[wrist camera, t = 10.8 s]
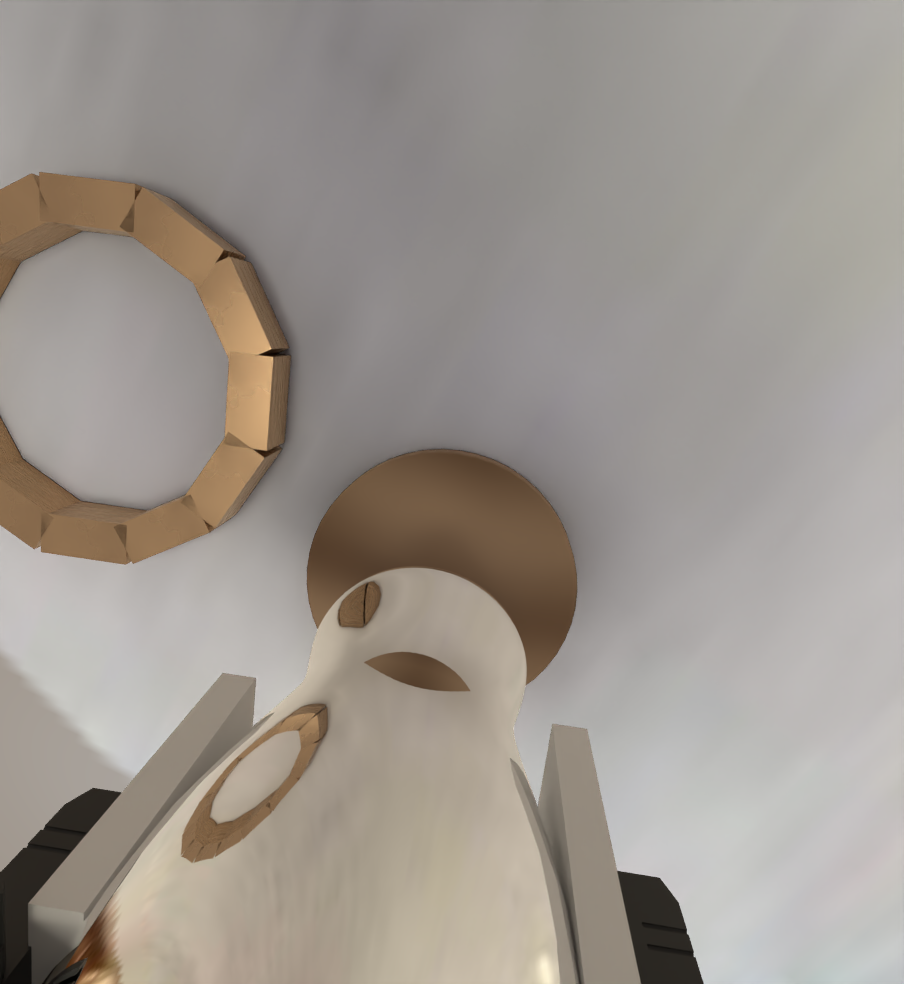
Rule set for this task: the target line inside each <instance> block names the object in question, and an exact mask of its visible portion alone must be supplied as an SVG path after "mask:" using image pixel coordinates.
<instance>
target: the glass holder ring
mask: <svg viewBox="0 0 904 984" xmlns="http://www.w3.org/2000/svg"><path fill="white" fill-rule="evenodd" d="M81 231H89V232H97V233H105V234H113V235H120V236H128V237H134V238H135V239H136V240H138V241H139V242H140V243H142V244H143V245H144V246H146V247H147V248H148V249H150V250H151V251H152V252H153V253H155V254H156V255H157V256H159V257H160V258H161V259H163V260H164V261H165V262H167V263H168V264H169V265H171V266H172V267H173V268H174V269H176V270H177V271H178V272H180V273H181V274H182V275H184V276H185V277H186V278H188V279H189V280H190V281H192V282H193V283H194V285H195V287H196V290H197V292H198V294H199V296H200V298H201V300H202V302H203V305H204V307H205V309H206V311H207V313H208V315H209V317H210V320H211V322H212V324H213V326H214V328H215V330H216V332H217V334H218V337H219V339H220V341H221V343H222V345H223V347H224V349H225V352H226V354H227V356H228V358H229V369H228V387H227V405H226V424H225V438H224V439H223V441H222V442H221V444H220V445H219V447H218V448H217V450H216V451H215V453H214V454H213V455H212V457H211V458H210V460H209V461H208V463H207V464H206V466H205V467H204V469H203V470H202V472H201V473H200V475H199V476H198V478H197V479H196V480H195V482H194V483H193V485H192V486H191V488H190V489H189V491H188V492H187V494H186V495H184V496H181V497H179V498H176V499H174V500H172V501H169V502H167V503H165V504H162V505H160V506H157V507H155V508H153V509H150V510H148V511H146V510H139V509H132V508H125V507H118V506H112V505H105V504H98V503H91V502H84V501H80V500H78V499H77V498H76V497H74V496H73V495H72V494H70V493H69V492H67V491H66V490H65V489H63V488H62V487H60V486H59V485H58V484H56V483H55V482H54V481H52V480H51V479H49V478H48V477H47V476H45V475H44V474H43V473H41V472H40V471H38V470H37V469H36V468H34V467H33V466H31V465H30V464H29V463H27V462H26V461H25V460H23V459H22V457H21V455H20V453H19V451H18V449H17V448H16V446H15V444H14V442H13V440H12V438H11V436H10V435H9V433H8V431H7V429H6V427H5V425H4V423H3V421H2V420H1V418H0V525H1V526H2V527H4V528H5V529H7V530H8V531H9V532H11V533H12V534H14V535H15V536H16V537H18V538H19V539H21V540H22V541H23V542H25V543H26V544H28V545H29V546H30V547H32V548H33V549H35V548H38V547H40V546H41V552H45V553H51V554H58V555H65V556H72V557H78V558H85V559H92V560H99V561H105V562H112V563H119V564H128V563H129V562H131V561H132V563H133V564H134V563H136V562H139V561H141V560H143V559H146V558H148V557H151V556H153V555H156V554H158V553H161V552H163V551H165V550H168V549H170V548H173V547H175V546H178V545H180V544H183V543H185V542H187V541H190V540H192V539H195V538H197V537H200V536H202V535H205V534H207V533H209V532H211V531H213V530H214V529H216V528H217V527H219V526H220V525H222V524H223V523H225V522H226V521H228V520H229V519H231V517H233V516H234V515H236V514H237V512H238V511H239V509H240V508H241V507H242V505H243V504H244V502H245V501H246V500H247V498H248V497H249V495H250V494H251V492H252V491H253V490H254V488H255V487H256V485H257V484H258V483H259V481H260V480H261V478H262V477H263V475H264V474H265V473H266V471H267V470H268V468H269V467H270V466H271V464H272V463H273V461H274V460H275V458H276V457H277V456H278V454H279V453H280V451H281V450H282V449H281V448H280V447H279V446H278V445H280V444H282V443H284V442H285V429H286V415H287V402H288V388H289V375H290V361H291V356H290V355H282V354H277V353H279V352H282V351H284V350H286V349H288V348H289V346H288V343H287V341H286V339H285V337H284V335H283V332H282V330H281V328H280V326H279V323H278V321H277V319H276V317H275V315H274V312H273V310H272V308H271V306H270V304H269V301H268V299H267V297H266V295H265V292H264V290H263V288H262V286H261V284H260V281H259V279H258V277H257V275H256V273H255V270H254V268H253V266H252V264H251V263H250V262H247V261H244V259H245V257H246V256H245V255H244V254H242V253H241V252H240V251H238V250H237V249H236V248H234V247H233V246H232V245H231V244H229V243H228V242H227V241H225V240H224V239H223V238H221V237H220V236H219V235H218V234H216V233H215V232H214V231H212V230H211V229H210V228H209V227H207V226H206V225H205V224H203V223H202V222H201V221H199V220H198V219H197V218H196V217H194V216H193V215H192V214H190V213H189V212H188V211H186V210H185V209H184V208H183V207H181V206H180V205H179V204H177V203H176V202H175V201H173V200H172V199H170V198H168V197H165V196H163V195H161V194H158V193H156V192H153V191H151V190H149V189H146V188H144V187H141V186H139V185H137V184H132V183H124V182H116V181H108V180H100V179H92V178H84V177H75V176H67V175H59V174H51V173H43V172H39V176H38V175H35V174H32V173H31V174H29V175H28V176H26V177H24V178H22V179H20V180H18V181H16V182H14V183H12V184H10V185H8V186H6V187H4V188H3V189H1V190H0V298H1V296H2V294H3V292H4V290H5V289H6V287H7V285H8V283H9V282H10V280H11V278H12V276H13V274H14V273H15V271H16V269H17V267H18V266H19V264H20V262H21V261H23V260H25V259H27V258H29V257H31V256H33V255H35V254H37V253H39V252H41V251H43V250H45V249H47V248H49V247H51V246H53V245H55V244H57V243H59V242H61V241H63V240H65V239H67V238H69V237H71V236H73V235H75V234H77V233H79V232H81Z"/></svg>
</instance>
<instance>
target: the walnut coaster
mask: <svg viewBox="0 0 904 984" xmlns="http://www.w3.org/2000/svg"><path fill="white" fill-rule="evenodd" d="M405 566H426V567H434V568H439V569H444V570H447V571H451V572H454V573H456V574H459V575H461V576H463V577H466V578H468V579H470V580H471V581H473V582H475V583H476V584H478V585H480V586H481V587H482V588H484V589H485V590H486V591H488V592H489V593H490V594H491V595H492V596H493V597H494V598H495V599H496V600H497V601H498V602H499V603H500V604H501V605H502V606H503V607H504V609H505V610H506V611H507V613H508V614H509V615H510V617H511V618H512V620H513V622H514V623H515V625H516V627H517V629H518V631H519V634H520V636H521V639H522V642H523V645H524V649H525V653H526V661H527V678H526V685H527V684H528V683H530V682H531V681H532V680H534V679H535V678H536V677H537V676H538V675H539V674H540V673H541V672H542V671H543V670H544V669H545V668H546V667H547V666H548V664H549V663H550V662H551V661H552V659H553V658H554V657H555V655H556V654H557V652H558V651H559V649H560V647H561V645H562V644H563V642H564V640H565V638H566V636H567V633H568V631H569V628H570V626H571V623H572V619H573V615H574V611H575V607H576V597H577V573H576V567H575V561H574V556H573V553H572V550H571V546H570V543H569V540H568V537H567V534H566V531H565V529H564V527H563V525H562V523H561V521H560V519H559V517H558V515H557V514H556V512H555V511H554V509H553V508H552V506H551V505H550V503H549V502H548V501H547V499H546V498H545V497H544V496H543V495H542V494H541V493H540V491H539V490H538V489H537V488H536V487H534V486H533V485H532V484H531V483H530V482H529V481H528V480H527V479H525V478H524V477H523V476H521V475H520V474H518V473H517V472H515V471H514V470H512V469H511V468H509V467H507V466H505V465H503V464H501V463H499V462H497V461H495V460H493V459H490V458H487V457H484V456H481V455H478V454H475V453H470V452H465V451H460V450H447V449H434V450H422V451H417V452H411V453H406V454H403V455H400V456H397V457H394V458H391V459H389V460H387V461H385V462H383V463H381V464H379V465H377V466H375V467H373V468H372V469H370V470H369V471H367V472H366V473H364V474H363V475H361V476H360V477H359V478H358V479H356V480H355V481H354V482H353V483H352V484H351V485H350V486H349V487H347V488H346V489H345V490H344V491H343V492H342V493H341V494H340V496H339V497H338V498H337V499H336V500H335V501H334V503H333V504H332V505H331V506H330V508H329V509H328V511H327V512H326V514H325V516H324V517H323V519H322V520H321V522H320V525H319V527H318V529H317V531H316V533H315V536H314V539H313V542H312V546H311V549H310V553H309V559H308V566H307V590H308V598H309V604H310V608H311V612H312V616H313V619H314V621H315V624H316V626H317V629H318V628H319V626H320V624H321V622H322V620H323V618H324V616H325V615H326V613H327V611H328V610H329V609H330V607H331V606H332V605H333V604H334V602H335V601H336V600H337V599H338V598H339V597H340V596H341V595H342V594H343V593H344V592H345V591H347V590H348V589H349V588H350V587H352V586H353V585H355V584H356V583H358V582H359V581H361V580H363V579H365V578H366V577H368V576H371V575H373V574H375V573H378V572H381V571H384V570H388V569H392V568H397V567H405Z"/></svg>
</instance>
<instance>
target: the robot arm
mask: <svg viewBox="0 0 904 984" xmlns="http://www.w3.org/2000/svg"><path fill="white" fill-rule="evenodd" d="M255 687H256V678H252V677H246V676H239V675H232V674H226V673H222V675H221V676H220V677H219V678H218V679H217V681H216V682H215V683H214V684H213V685H212V686H211V688H210V689H209V690H208V691H207V692H206V694H205V695H204V696H203V697H202V698H201V700H200V701H199V702H198V703H197V704H196V705H195V707H194V708H193V709H192V710H191V711H190V713H189V714H188V715H187V716H186V717H185V718H184V720H183V721H182V722H181V723H180V724H179V726H178V727H177V728H176V729H175V730H174V731H173V733H172V734H171V735H170V736H169V737H168V739H167V740H166V741H165V742H164V743H163V744H162V746H161V747H160V748H159V749H158V750H157V752H156V753H155V754H154V755H153V756H152V757H151V759H150V760H149V761H148V762H147V763H146V765H145V766H144V767H143V768H142V769H141V770H140V772H139V773H138V774H137V775H136V776H135V778H134V779H133V780H132V781H131V782H130V784H129V785H128V786H127V787H126V788H125V790H124V791H123V792H122V793H121V792H115V791H108V790H103V789H97V788H92V789H91V790H89V791H87V792H85V793H84V794H82V795H80V796H78V797H77V798H75V799H73V800H72V801H70V802H68V803H66V804H65V805H64V806H63V807H62V808H61V809H60V810H59V811H58V813H56V814H55V815H54V817H53V818H52V819H51V820H50V821H49V822H48V823H47V824H46V825H45V828H44V830H40V831H39V832H38V833H37V834H36V836H35V837H34V838H33V839H32V840H31V841H30V842H29V843H28V846H27V848H23V849H22V850H21V851H20V852H19V853H18V855H17V856H16V857H15V858H14V859H13V860H12V861H11V862H10V863H9V864H8V865H7V866H6V867H5V868H4V869H3V870H2V871H1V872H0V984H42V982H43V981H44V979H45V978H46V976H47V975H48V973H49V972H50V970H51V969H52V967H53V966H54V965H55V963H56V962H57V960H58V959H59V957H60V956H61V954H62V953H63V951H64V950H65V948H66V947H67V945H68V944H69V942H70V941H71V939H72V938H73V936H74V935H75V934H76V932H77V931H78V929H79V928H80V926H81V925H82V923H83V922H84V920H85V919H86V917H87V916H88V914H89V913H90V911H91V910H92V908H93V907H94V905H95V904H96V903H97V901H98V900H99V898H100V897H101V895H102V894H103V892H104V891H105V890H106V888H107V887H108V886H109V885H110V883H111V882H112V881H113V879H114V878H115V877H116V876H117V874H118V873H119V872H120V870H121V869H122V868H123V867H124V865H125V864H126V863H127V861H128V860H129V859H130V858H131V856H132V855H133V854H134V852H135V851H136V850H137V849H138V847H139V846H140V845H141V843H142V842H143V841H144V840H145V838H146V837H147V836H148V834H149V833H150V832H151V831H152V829H153V828H154V827H155V825H156V824H157V823H158V822H159V820H160V819H161V818H162V816H163V815H164V814H165V813H166V812H167V811H168V810H169V809H170V808H171V806H172V805H173V804H174V803H175V802H176V801H177V800H178V799H179V798H180V797H181V796H182V795H183V794H184V793H185V792H186V791H187V790H188V789H189V788H190V787H191V786H192V785H193V784H194V783H195V782H196V781H197V780H198V778H199V777H200V776H201V775H202V774H203V773H204V772H205V771H206V770H207V769H208V768H209V767H210V766H211V765H212V764H213V763H214V762H215V761H216V760H217V759H218V758H219V757H220V756H221V755H222V754H223V753H224V752H225V751H226V750H228V749H229V748H230V747H231V746H232V745H233V744H234V743H235V742H236V741H238V740H239V739H240V738H241V737H242V736H243V735H244V734H245V733H246V732H247V731H249V730H250V729H251V728H252V727H253V715H254V701H255ZM538 810H539V813H540V815H541V818H542V821H543V824H544V827H545V830H546V833H547V836H548V839H549V842H550V845H551V849H552V852H553V856H554V860H555V864H556V868H557V871H558V875H559V879H560V883H561V886H562V890H563V894H564V898H565V902H566V905H567V909H568V913H569V917H570V921H571V926H572V932H573V938H574V945H575V951H576V958H577V965H578V972H579V978H580V984H703V980H702V977H701V974H700V971H699V967H698V964H697V961H696V958H695V957H694V955H693V953H694V951H693V948H692V945H691V941H690V938H689V935H687V929H686V925H685V922H684V919H683V916H682V912H681V909H680V906H679V903H678V901H677V900H676V899H675V897H674V896H673V895H672V893H671V892H670V891H669V890H668V888H667V887H666V886H665V884H664V883H663V882H662V880H661V879H660V878H657V877H651V876H645V875H639V874H633V873H627V872H621V871H617V868H616V863H615V859H614V854H613V849H612V845H611V840H610V835H609V830H608V826H607V821H606V816H605V812H604V807H603V802H602V797H601V793H600V788H599V783H598V779H597V774H596V769H595V764H594V760H593V755H592V750H591V746H590V741H589V736H588V731H587V729H584V728H577V727H571V726H564V725H558V724H552V729H551V734H550V740H549V746H548V751H547V757H546V763H545V768H544V774H543V780H542V786H541V791H540V797H539V803H538Z"/></svg>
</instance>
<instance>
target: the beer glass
mask: <svg viewBox="0 0 904 984" xmlns="http://www.w3.org/2000/svg"><path fill="white" fill-rule="evenodd" d="M526 678H527V661H526V653H525V649H524V645H523V642H522V639H521V636H520V634H519V631H518V629H517V627H516V625H515V623H514V622H513V620H512V618H511V617H510V615H509V614H508V613H507V611H506V610H505V609H504V607H503V606H502V605H501V604H500V603H499V602H498V601H497V600H496V599H495V598H494V597H493V596H492V595H491V594H490V593H489V592H488V591H486V590H485V589H484V588H482V587H481V586H480V585H478V584H476V583H475V582H473V581H471V580H470V579H468V578H466V577H463V576H461V575H459V574H456V573H454V572H451V571H447V570H444V569H439V568H434V567H426V566H405V567H397V568H392V569H388V570H384V571H381V572H378V573H375V574H373V575H371V576H368V577H366V578H365V579H363V580H361V581H359V582H358V583H356V584H355V585H353V586H352V587H350V588H349V589H348V590H347V591H345V592H344V593H343V594H342V595H341V596H340V597H339V598H338V599H337V600H336V601H335V602H334V604H333V605H332V606H331V607H330V609H329V610H328V611H327V613H326V615H325V616H324V618H323V620H322V622H321V624H320V626H319V628H318V630H317V632H316V635H315V638H314V641H313V645H312V649H311V653H310V658H309V663H308V668H307V673H306V677H305V679H304V680H303V682H302V683H301V684H300V685H299V686H298V687H297V688H296V689H295V690H294V691H293V692H292V693H291V694H289V695H288V696H287V697H286V698H285V699H284V700H283V701H281V702H280V703H279V704H278V705H277V706H276V707H274V708H273V709H272V710H271V711H270V712H269V713H268V714H266V715H265V716H264V717H263V718H262V719H261V720H260V721H259V722H257V723H256V724H255V725H254V726H253V727H252V728H251V729H250V730H249V731H247V732H246V733H245V734H244V735H243V736H242V737H241V738H240V739H239V740H238V741H236V742H235V743H234V744H233V745H232V746H231V747H230V748H229V749H228V750H226V751H225V752H224V753H223V754H222V755H221V756H220V757H219V758H218V759H217V760H216V761H215V762H214V763H213V764H212V765H211V766H210V767H209V768H208V769H207V770H206V771H205V772H204V773H203V774H202V775H201V776H200V777H199V778H198V780H197V781H196V782H195V783H194V784H193V785H192V786H191V787H190V788H189V789H188V790H187V791H186V792H185V793H184V794H183V795H182V796H181V797H180V798H179V799H178V800H177V801H176V802H175V803H174V804H173V805H172V806H171V808H170V809H169V810H168V811H167V812H166V813H165V814H164V815H163V816H162V818H161V819H160V820H159V822H158V823H157V824H156V825H155V827H154V828H153V829H152V831H151V832H150V833H149V834H148V836H147V837H146V838H145V840H144V841H143V842H142V843H141V845H140V846H139V847H138V849H137V850H136V851H135V852H134V854H133V855H132V856H131V858H130V859H129V860H128V861H127V863H126V864H125V865H124V867H123V868H122V869H121V870H120V872H119V873H118V874H117V876H116V877H115V878H114V879H113V881H112V882H111V883H110V885H109V886H108V887H107V888H106V890H105V891H104V892H103V894H102V895H101V897H100V898H99V900H98V901H97V903H96V904H95V905H94V907H93V908H92V910H91V911H90V913H89V914H88V916H87V917H86V919H85V920H84V922H83V923H82V925H81V926H80V928H79V929H78V931H77V932H76V934H75V935H74V936H73V938H72V939H71V941H70V942H69V944H68V945H67V947H66V948H65V950H64V951H63V953H62V954H61V956H60V957H59V959H58V960H57V962H56V963H55V965H54V966H53V967H52V969H51V970H50V972H49V973H48V975H47V976H46V978H45V979H44V981H43V982H42V984H580V978H579V972H578V965H577V958H576V951H575V945H574V938H573V932H572V926H571V921H570V917H569V913H568V909H567V905H566V902H565V898H564V894H563V890H562V886H561V883H560V879H559V875H558V871H557V868H556V864H555V860H554V856H553V852H552V849H551V845H550V842H549V839H548V836H547V833H546V830H545V827H544V824H543V821H542V818H541V815H540V813H539V810H538V807H537V804H536V801H535V798H534V795H533V792H532V789H531V786H530V783H529V781H528V778H527V775H526V772H525V769H524V767H523V764H522V761H521V758H520V755H519V752H518V748H517V745H516V742H515V737H514V729H513V728H514V725H515V722H516V720H517V717H518V714H519V711H520V707H521V704H522V700H523V697H524V692H525V686H526Z"/></svg>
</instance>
